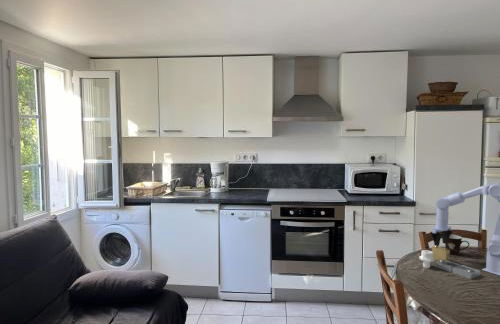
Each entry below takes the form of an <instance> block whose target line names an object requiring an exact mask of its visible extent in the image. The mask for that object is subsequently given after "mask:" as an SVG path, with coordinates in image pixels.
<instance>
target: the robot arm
mask: <svg viewBox="0 0 500 324" xmlns="http://www.w3.org/2000/svg"><path fill="white" fill-rule="evenodd" d="M481 195H484V196H488V195H489V196H490V197H493V199H495V200H496V201H497V202H498V203H499V204H500V182H494V183H490V184H486V185H481V186H479V187H476V188H473V189H470V190H468V191H465V192H461V191H458V192H457V191H454V192H453V193H452V194H449V195H444V196H443V197H440V198H439V199H437V200H436V201H435V206H436V214H435V215H436V217H435V218H436V219H435V225H434V226H433V228H432V229H431V231H430V235H431V237H432V240H433V244H434V245H433V246H438V247H440V244H441V243H440V242H441V241H442V244H447V242H448V240H449V237H450V235H453V231H452V226H451V225H449V209H450V208H449V207H454V206H457V205H459V204H463V203H464V202H465V200H466V199H469V198H473V197H476V196H481ZM486 249H487V250H486V258H485V260H486V263H485V264H486V265H485V267H484V268H482V270H481V271H483V272H487V273H490V274H494V275H497V276H500V210H498V216H497V218H496V222H495V227H494V232H493V235H492V238H491V240H489V243H488V244H487V248H486Z"/></svg>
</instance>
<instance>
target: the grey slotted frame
mask: <svg viewBox="0 0 500 324" xmlns="http://www.w3.org/2000/svg"><path fill="white" fill-rule="evenodd" d="M433 262H434V263H433V267H435V268H438V269H441V270H443V271H447V272H449V273H452V274H454V275H457V276H460V277H464V278H467V279H468V280H469V279H470V280H473V279H474V278H476V277H480V275H481V270H479V269H476V268H473V267H470V266H466V265H463V264H460V263H457V262H454V261H450V260H449V261H448V260H445V259H442V260H439V261H438V260H435V261H433Z"/></svg>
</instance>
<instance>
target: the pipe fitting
mask: <svg viewBox="0 0 500 324" xmlns="http://www.w3.org/2000/svg"><path fill="white" fill-rule="evenodd" d="M418 259H419V260H420V261H421V262H422V267H423V268H426V269H429V268H430V267H431V263H432V262H436V260H435V259H434V258H433V252H432V250H428V249H422V250H421V255H419V257H418Z"/></svg>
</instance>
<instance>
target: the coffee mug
mask: <svg viewBox="0 0 500 324" xmlns="http://www.w3.org/2000/svg"><path fill="white" fill-rule="evenodd" d="M462 243H466V244H468V245H467V246H466V247H463V248H461V245H462ZM444 244H445V243H444ZM444 246H445V247H444V248H446V249H447V250H450V253H449V256H455V257H456V256H459V255H460V252H461V251H463V250H466V249H467V248H468V247H469V246H470V242H469V241H467V240H463V237H462V236H460V235H456V234H451V235H450V237H449V240H448V242H447V244H445V245H444Z"/></svg>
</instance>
